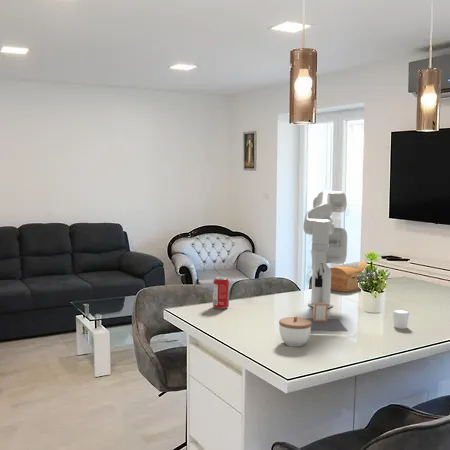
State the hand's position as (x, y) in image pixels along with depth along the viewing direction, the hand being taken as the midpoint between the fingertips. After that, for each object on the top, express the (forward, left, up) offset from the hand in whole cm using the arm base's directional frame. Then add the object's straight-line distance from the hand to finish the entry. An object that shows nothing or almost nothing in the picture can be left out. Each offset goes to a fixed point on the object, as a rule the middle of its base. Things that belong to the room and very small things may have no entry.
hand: (318, 286), depth 258 cm
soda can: (-17, -45, -15) cm, 50 cm away
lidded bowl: (+39, -16, -15) cm, 45 cm away
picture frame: (+6, 0, -14) cm, 16 cm away
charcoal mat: (+12, 0, -15) cm, 19 cm away
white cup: (+11, +35, -15) cm, 40 cm away
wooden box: (-74, +31, -15) cm, 82 cm away
